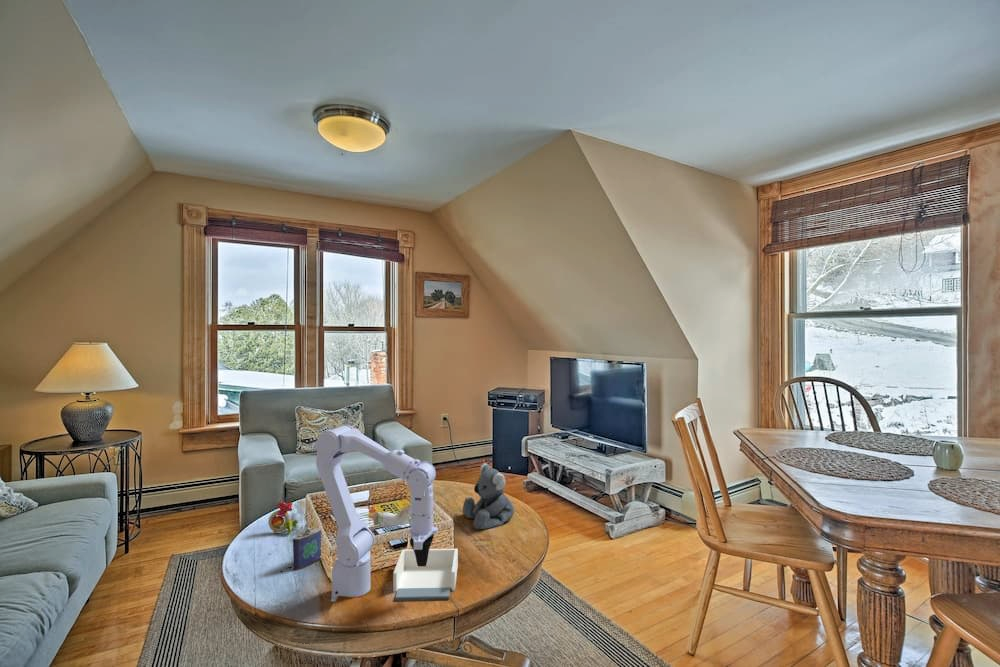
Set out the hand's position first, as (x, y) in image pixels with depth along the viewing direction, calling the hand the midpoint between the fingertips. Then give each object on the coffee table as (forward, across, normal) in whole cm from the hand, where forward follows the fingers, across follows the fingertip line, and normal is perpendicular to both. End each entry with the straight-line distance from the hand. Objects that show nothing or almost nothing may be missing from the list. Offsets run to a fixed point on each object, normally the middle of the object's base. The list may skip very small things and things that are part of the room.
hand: (422, 565), depth 119 cm
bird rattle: (+10, +43, +54) cm, 70 cm away
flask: (+10, +21, +37) cm, 44 cm away
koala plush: (+10, +52, -18) cm, 56 cm away
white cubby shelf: (+9, +9, 0) cm, 13 cm away
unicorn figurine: (+10, +36, +12) cm, 39 cm away
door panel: (+8, +3, 0) cm, 9 cm away
